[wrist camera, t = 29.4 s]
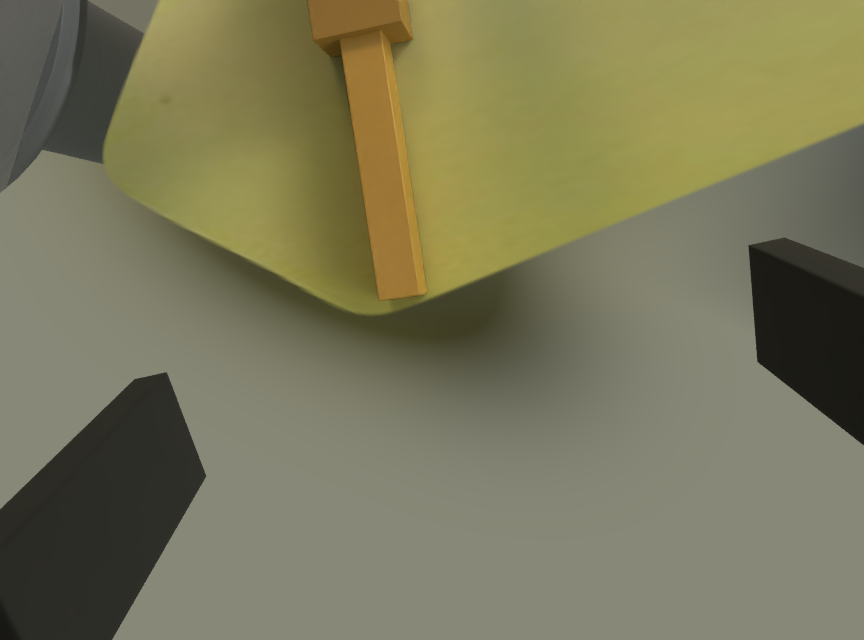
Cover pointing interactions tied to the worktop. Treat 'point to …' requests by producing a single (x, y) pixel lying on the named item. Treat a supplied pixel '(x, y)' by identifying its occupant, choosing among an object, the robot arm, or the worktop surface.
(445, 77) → the worktop surface
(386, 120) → the wooden t-shaped block
